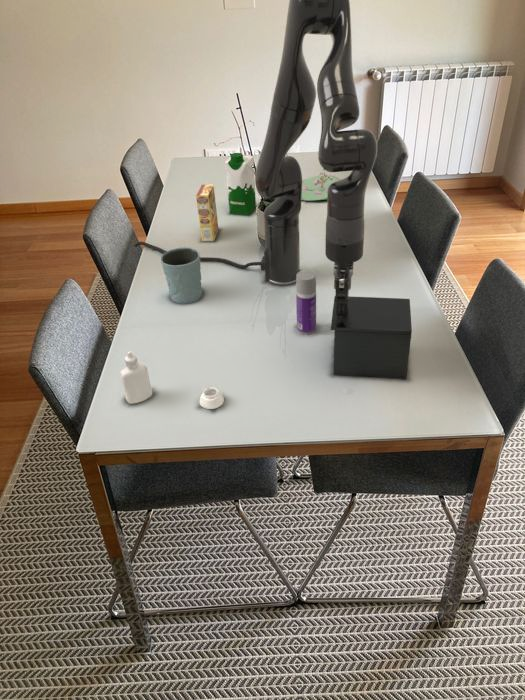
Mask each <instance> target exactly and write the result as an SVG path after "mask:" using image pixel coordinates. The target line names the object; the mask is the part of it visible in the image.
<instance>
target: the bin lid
mask: <svg viewBox="0 0 525 700" xmlns="http://www.w3.org/2000/svg"><path fill="white" fill-rule="evenodd" d="M339 295H340V294H339ZM339 295H338V296H339ZM348 297H349V300H348V302H347V315H346V316H337V315H336V303H335V297H333V305H332V313H331V314H332V315H331V321H330V331H334V332H335V331H355V332H375V333H396V334H411V335H412V332H413V329H412V328H413V327H412V314H411V299H410V298H397V297H375V296H373V297H371V296H351V295H350V296H349V295H348Z"/></svg>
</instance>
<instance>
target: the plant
mask: <svg viewBox="0 0 525 700" xmlns="http://www.w3.org/2000/svg"><path fill="white" fill-rule="evenodd" d="M322 171H325V170H324V169H323V168H322ZM338 180H339V179H338V178H336V177H335V176H332V175H328V174H326V173H325V172H320V173H319V174H318V176H313V177H309V178H306V179H305V180H303V181H302V199H301V201H309V202H310V201H323V200H327V195H328V188H329V186H330V185H331V184H332V183H333V182H335V181H338Z"/></svg>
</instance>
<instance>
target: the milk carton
mask: <svg viewBox="0 0 525 700" xmlns="http://www.w3.org/2000/svg"><path fill="white" fill-rule="evenodd" d="M251 165H252V166H253V167H254V168H255V156H254V155H244V154H243V153H241V152H234V153H231V154H230V156H229V157H228V158H227V159H226V160H225V161H224V169H225V176H226V188H227V197H228V198H227V199H228V207H229V214H230V215H237V216H248V217H249V216H250V215H251V214H252V213H253V212H254V210H255V209H256V208H257V201H256V199H257V198H256V184H255V170H254V171H253V168H252V167H251Z"/></svg>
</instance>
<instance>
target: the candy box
mask: <svg viewBox="0 0 525 700" xmlns="http://www.w3.org/2000/svg"><path fill="white" fill-rule="evenodd" d="M195 198H196V208H197V214H198V220H199V230H200V236H201V242H215V239H216V237H217V235H218V232H219V230H220V229H219V221H218V213H217V202H216V193H215V185H214V184H201V186H200V187H199V189H198V191H197V194H196V195H195Z"/></svg>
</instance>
